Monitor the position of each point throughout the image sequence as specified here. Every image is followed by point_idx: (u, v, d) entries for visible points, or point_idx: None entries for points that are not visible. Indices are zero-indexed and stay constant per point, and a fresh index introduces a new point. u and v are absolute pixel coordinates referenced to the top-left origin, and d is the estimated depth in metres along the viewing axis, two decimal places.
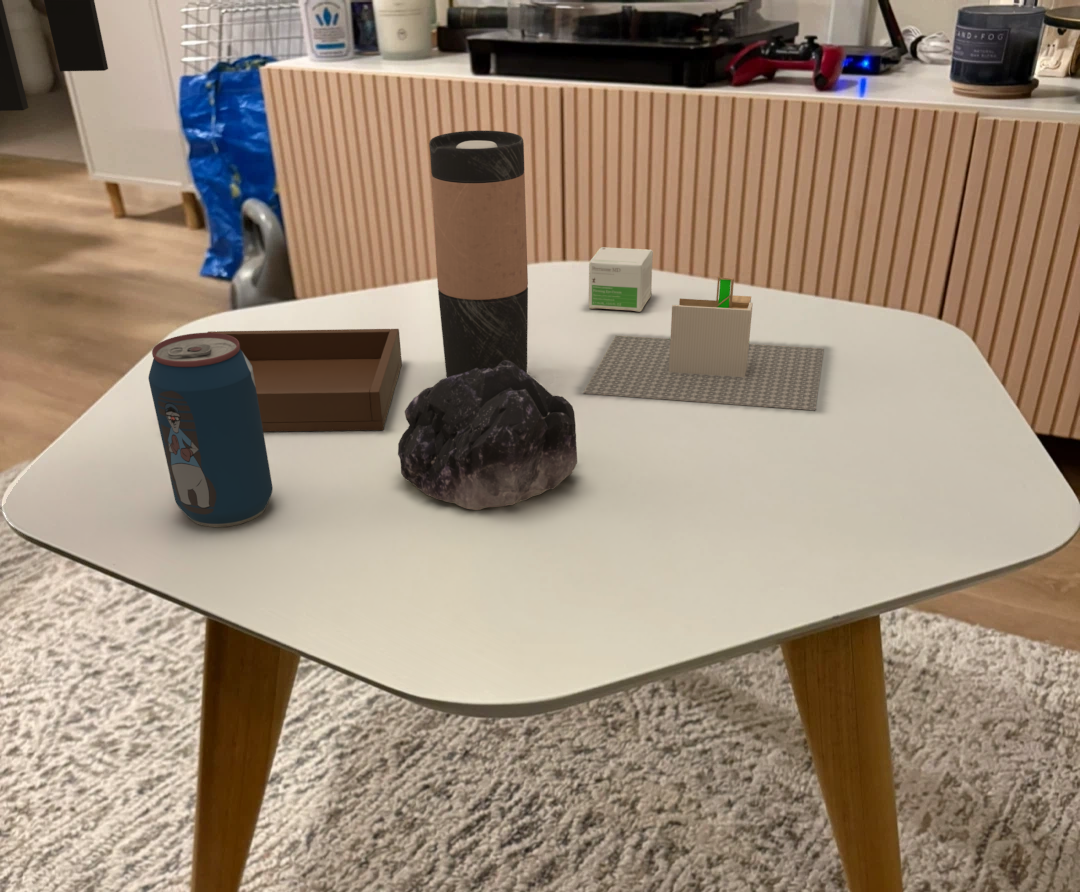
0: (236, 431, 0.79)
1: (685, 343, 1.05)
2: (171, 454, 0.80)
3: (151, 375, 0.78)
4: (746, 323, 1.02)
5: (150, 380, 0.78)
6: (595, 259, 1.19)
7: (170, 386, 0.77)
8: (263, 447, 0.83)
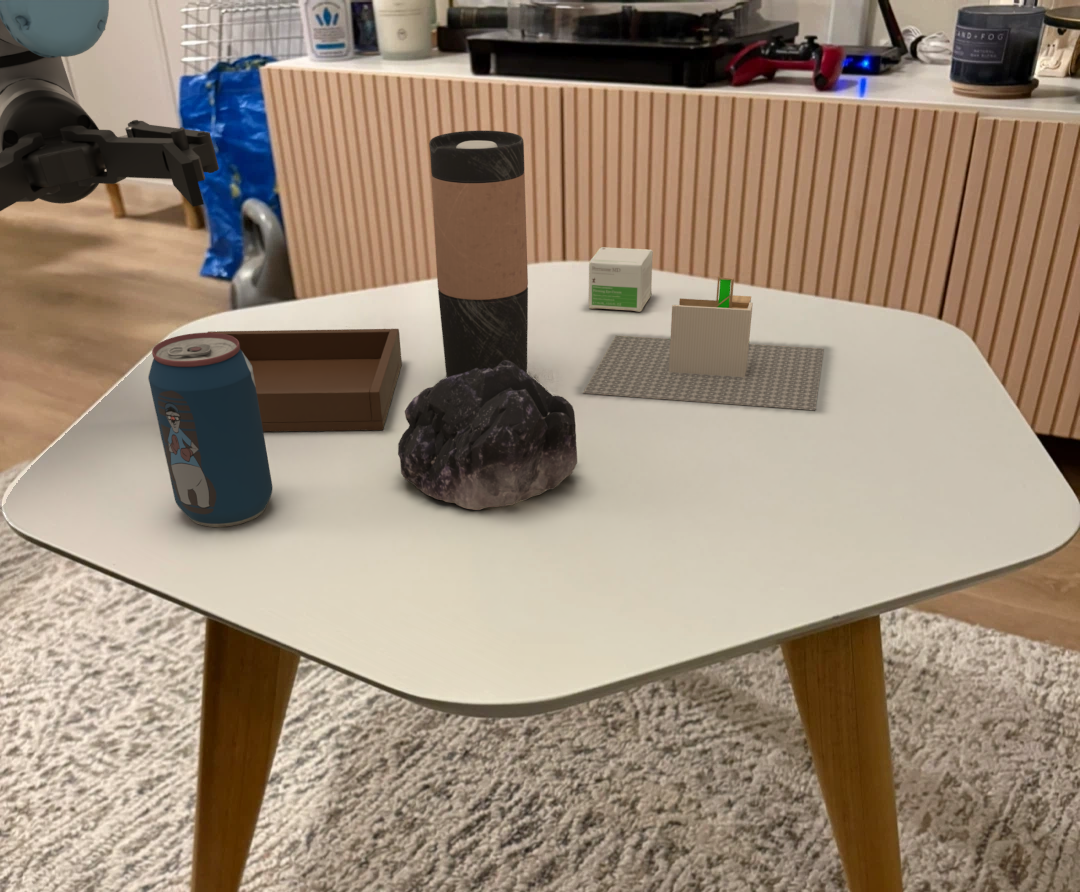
0: (236, 431, 0.79)
1: (685, 343, 1.05)
2: (171, 454, 0.80)
3: (151, 375, 0.78)
4: (746, 323, 1.02)
5: (150, 380, 0.78)
6: (595, 259, 1.19)
7: (170, 385, 0.77)
8: (263, 447, 0.83)
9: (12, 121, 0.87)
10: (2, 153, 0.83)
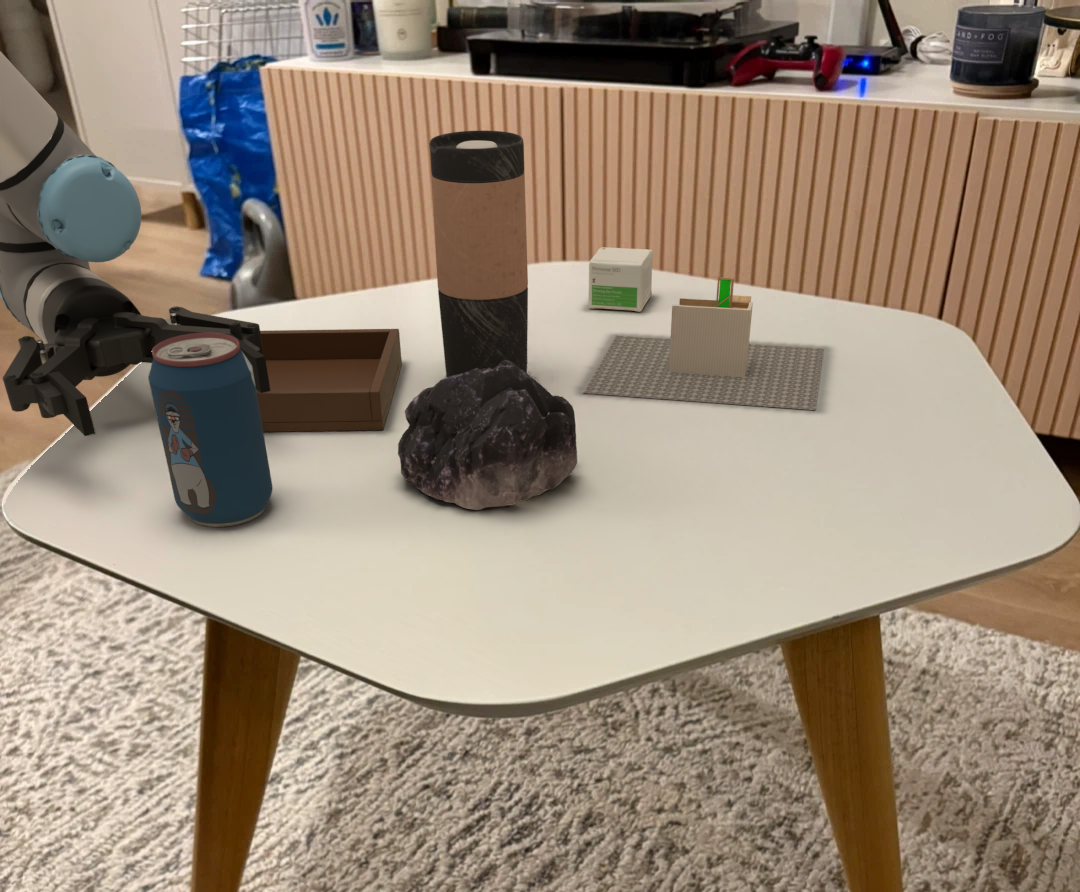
0: (236, 431, 0.79)
1: (685, 343, 1.05)
2: (171, 454, 0.80)
3: (151, 375, 0.78)
4: (746, 323, 1.02)
5: (150, 380, 0.78)
6: (595, 259, 1.19)
7: (170, 385, 0.77)
8: (263, 447, 0.83)
9: (65, 306, 0.95)
10: (68, 338, 0.92)
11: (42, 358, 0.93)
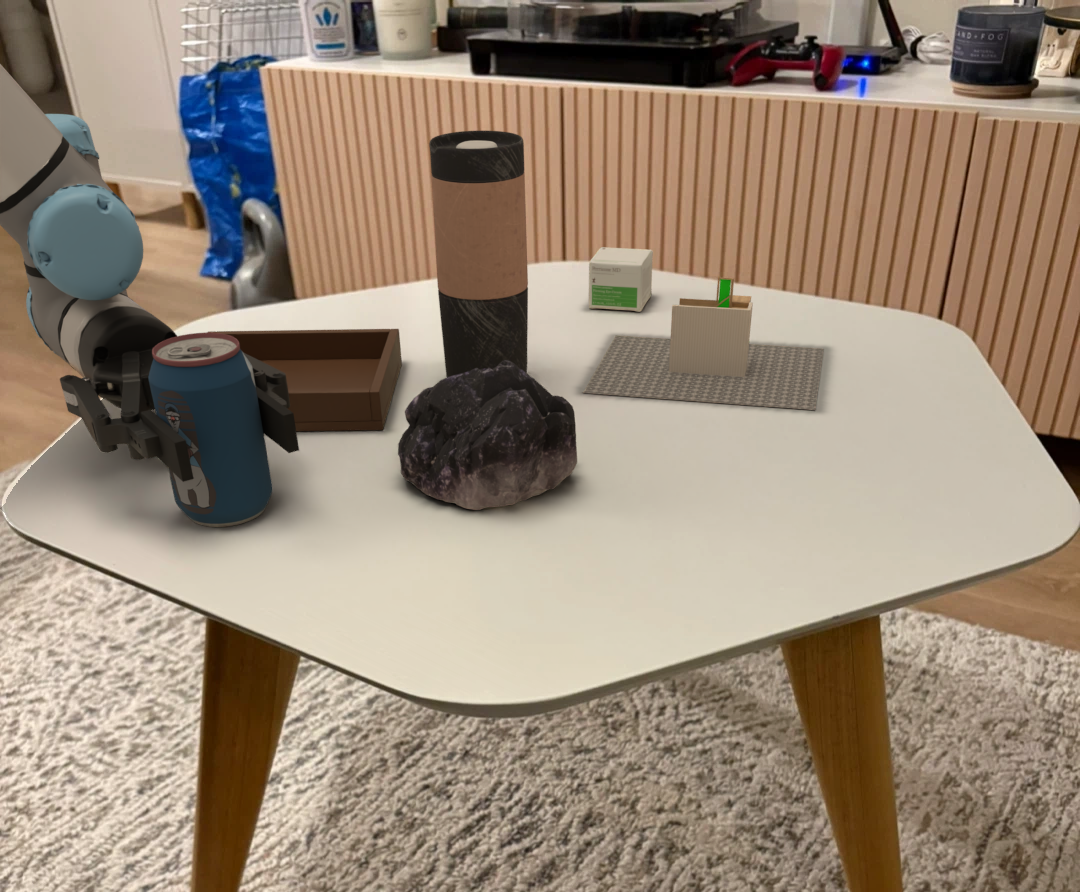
0: (235, 431, 0.79)
1: (685, 343, 1.05)
2: None
3: (151, 375, 0.78)
4: (746, 323, 1.02)
5: (150, 380, 0.78)
6: (595, 259, 1.19)
7: (170, 385, 0.77)
8: (263, 447, 0.83)
9: (104, 338, 0.89)
10: (125, 374, 0.85)
11: None
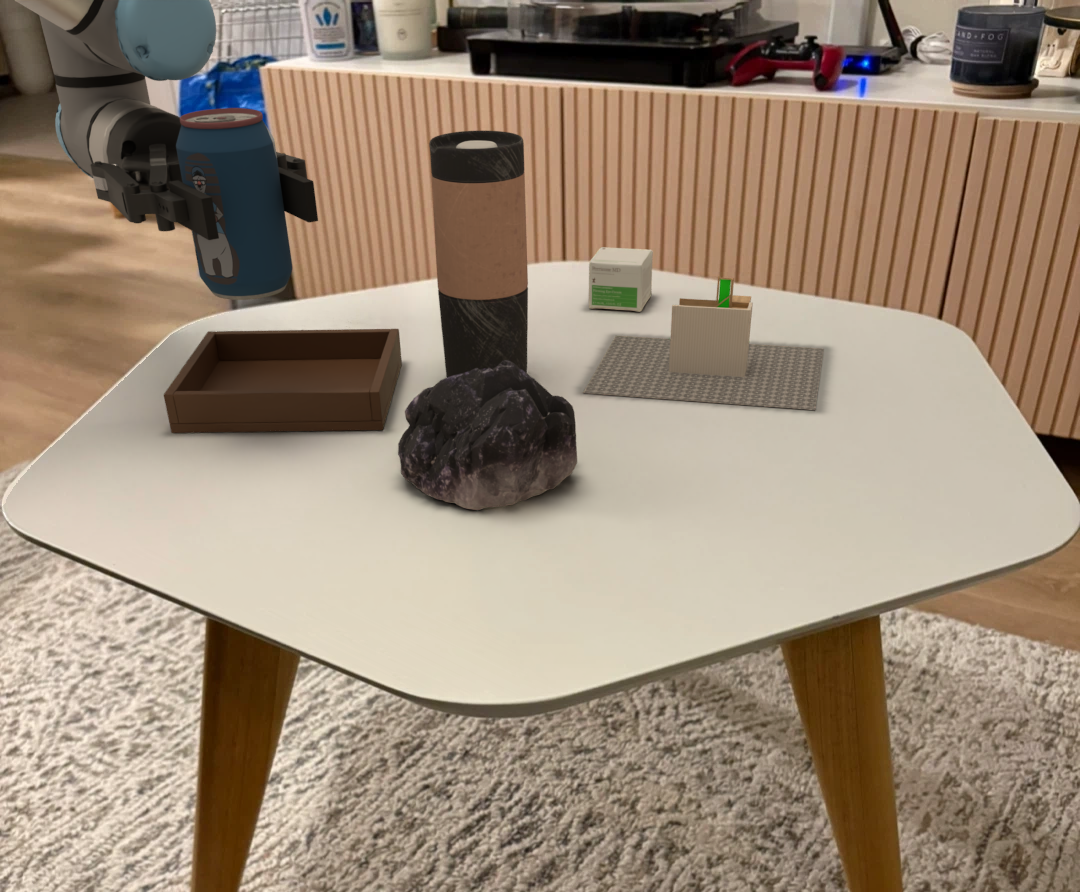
0: (258, 198, 0.84)
1: (685, 343, 1.05)
2: None
3: (179, 141, 0.82)
4: (746, 323, 1.02)
5: (178, 146, 0.82)
6: (595, 259, 1.19)
7: (197, 148, 0.81)
8: (284, 222, 0.87)
9: (132, 132, 0.93)
10: (152, 158, 0.89)
11: None
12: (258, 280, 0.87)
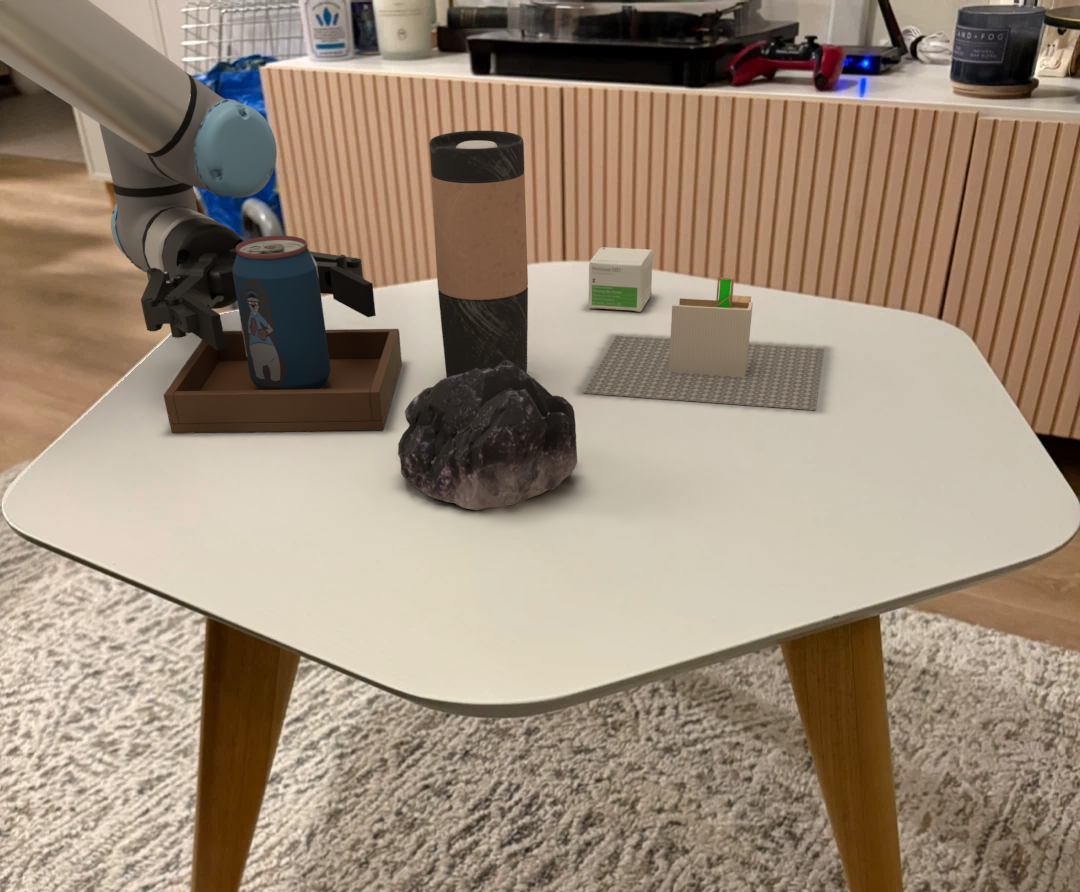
0: (303, 315, 0.97)
1: (685, 343, 1.05)
2: (250, 335, 0.97)
3: (235, 268, 0.95)
4: (746, 323, 1.02)
5: (234, 272, 0.95)
6: (595, 259, 1.19)
7: (252, 275, 0.94)
8: (324, 332, 1.00)
9: (186, 242, 1.05)
10: (192, 269, 1.02)
11: (168, 287, 1.03)
12: (302, 383, 0.99)
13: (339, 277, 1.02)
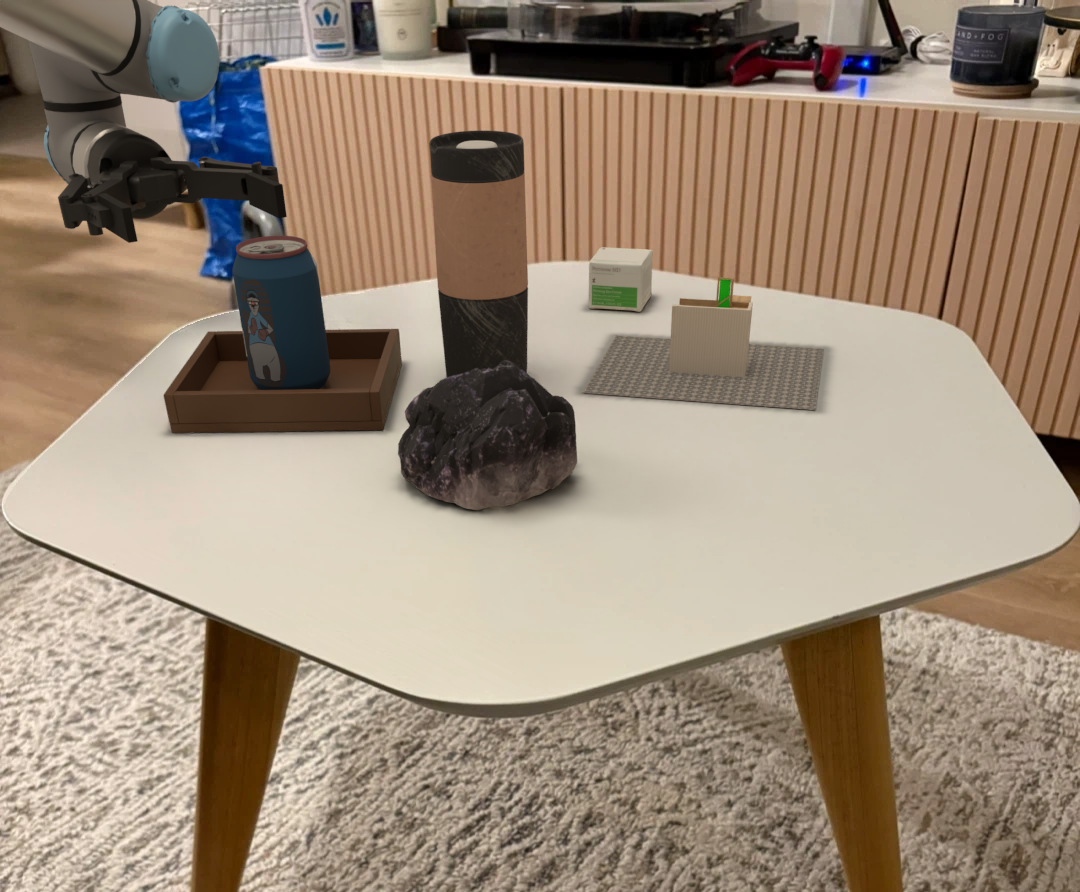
0: (303, 315, 0.97)
1: (685, 343, 1.05)
2: (250, 335, 0.97)
3: (235, 267, 0.95)
4: (746, 323, 1.02)
5: (234, 272, 0.95)
6: (595, 259, 1.19)
7: (252, 275, 0.94)
8: (324, 332, 1.00)
9: (109, 150, 1.10)
10: (112, 173, 1.06)
11: None
12: (302, 383, 0.99)
13: (253, 181, 1.06)
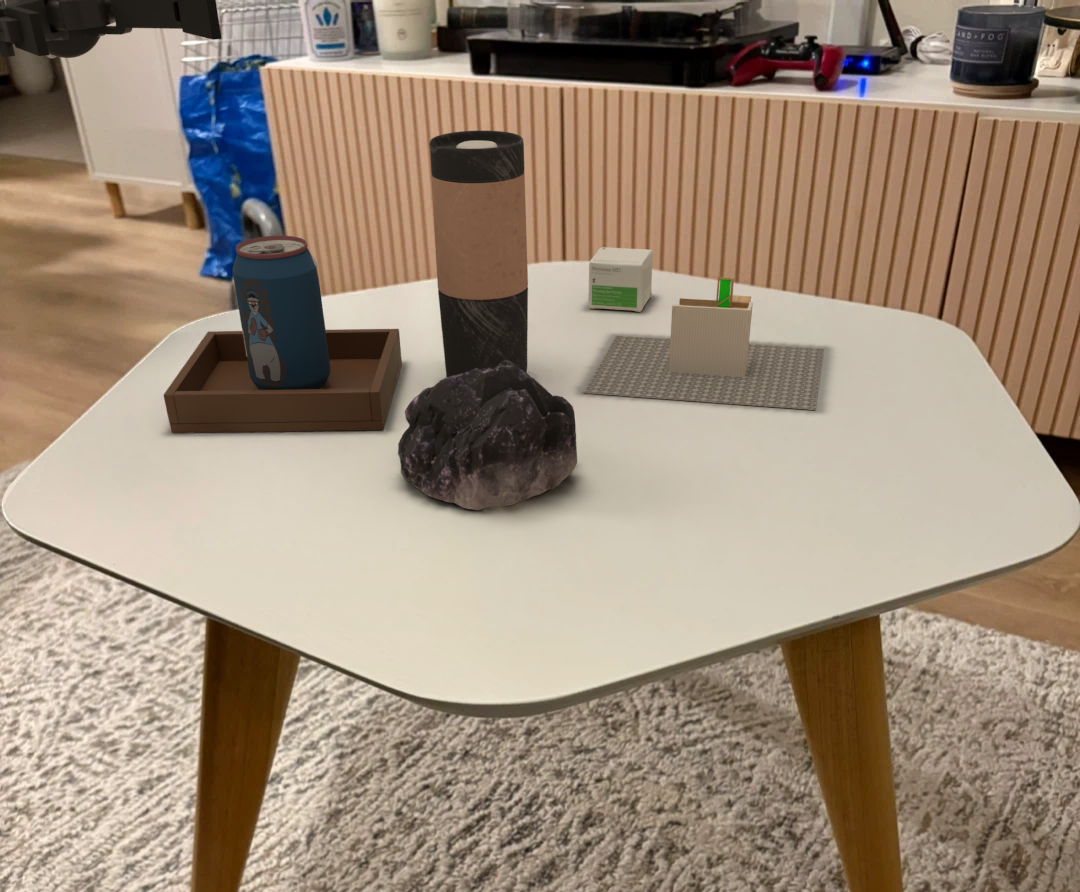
0: (303, 315, 0.97)
1: (685, 343, 1.05)
2: (250, 335, 0.97)
3: (235, 267, 0.95)
4: (746, 323, 1.02)
5: (234, 272, 0.95)
6: (595, 259, 1.19)
7: (252, 275, 0.94)
8: (324, 332, 1.00)
9: None
10: None
11: None
12: (302, 383, 0.99)
13: (185, 2, 0.95)
